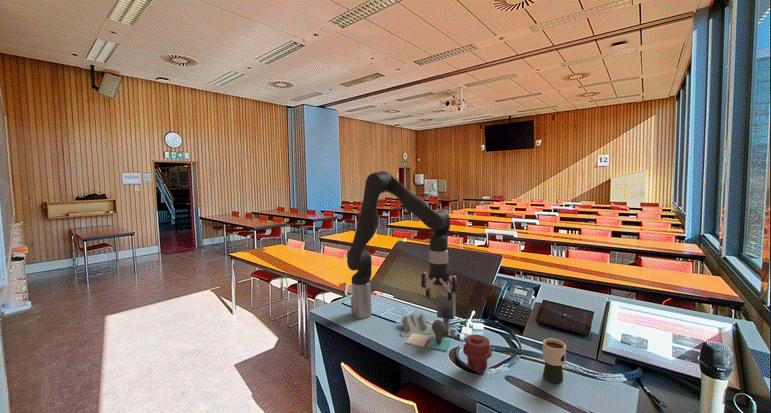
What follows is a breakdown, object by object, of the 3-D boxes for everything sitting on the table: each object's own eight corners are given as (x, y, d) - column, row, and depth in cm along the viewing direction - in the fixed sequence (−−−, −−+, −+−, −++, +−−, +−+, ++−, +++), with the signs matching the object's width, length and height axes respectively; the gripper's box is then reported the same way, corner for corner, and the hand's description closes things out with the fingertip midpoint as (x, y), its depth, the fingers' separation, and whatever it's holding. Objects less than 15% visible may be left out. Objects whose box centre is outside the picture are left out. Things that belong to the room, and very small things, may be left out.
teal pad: (427, 347, 138) (427, 346, 138) (432, 338, 145) (432, 336, 145) (446, 351, 135) (446, 350, 135) (451, 341, 142) (451, 340, 142)
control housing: (437, 334, 148) (436, 295, 145) (440, 328, 153) (440, 290, 150) (453, 337, 145) (453, 297, 143) (455, 331, 150) (455, 293, 148)
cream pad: (405, 343, 142) (405, 342, 142) (412, 334, 149) (412, 332, 149) (423, 346, 139) (423, 345, 139) (429, 337, 146) (429, 336, 146)
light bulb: (431, 346, 138) (430, 323, 137) (433, 339, 143) (432, 317, 142) (444, 348, 137) (444, 324, 135) (446, 340, 142) (446, 318, 140)
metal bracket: (396, 313, 158) (427, 309, 160) (396, 322, 160) (426, 319, 162) (402, 336, 145) (436, 332, 147) (402, 346, 147) (435, 342, 149)
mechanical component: (457, 369, 123) (472, 357, 130) (482, 381, 116) (496, 368, 123) (457, 338, 122) (472, 327, 128) (482, 348, 114) (497, 337, 121)
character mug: (563, 391, 110) (565, 354, 108) (539, 384, 114) (540, 348, 112) (565, 373, 119) (567, 338, 118) (543, 367, 123) (544, 333, 121)
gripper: (418, 261, 134) (419, 299, 137) (454, 265, 129) (454, 305, 131) (424, 256, 141) (425, 293, 144) (458, 259, 135) (458, 297, 138)
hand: (439, 298), depth 137 cm, fingers open, 8 cm apart
